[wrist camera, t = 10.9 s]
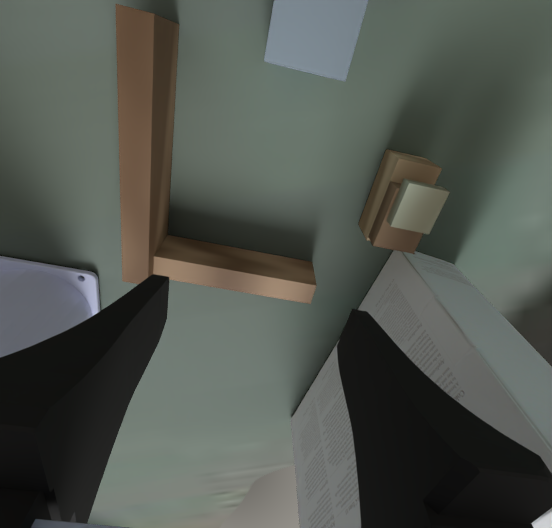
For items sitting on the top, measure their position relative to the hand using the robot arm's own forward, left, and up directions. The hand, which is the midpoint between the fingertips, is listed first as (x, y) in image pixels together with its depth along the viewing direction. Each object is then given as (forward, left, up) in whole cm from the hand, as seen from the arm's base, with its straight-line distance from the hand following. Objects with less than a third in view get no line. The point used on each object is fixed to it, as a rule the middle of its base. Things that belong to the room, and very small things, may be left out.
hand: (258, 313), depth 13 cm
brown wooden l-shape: (-2, +2, -10) cm, 11 cm away
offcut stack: (+8, +3, -10) cm, 13 cm away
